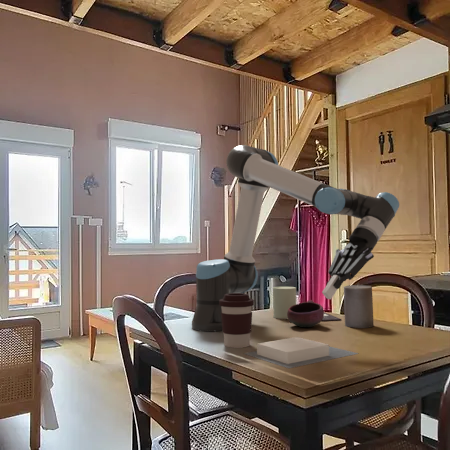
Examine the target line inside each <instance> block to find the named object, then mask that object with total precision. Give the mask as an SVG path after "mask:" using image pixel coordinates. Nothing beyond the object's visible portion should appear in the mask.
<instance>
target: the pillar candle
mask: <svg viewBox="0 0 450 450" xmlns="http://www.w3.org/2000/svg"><path fill="white" fill-rule="evenodd" d="M343 300H344V301H343V302H344V305H343V306H344V308H343V309H344V325H345V327H347V328H356V329H368V328H371V327H372V328H373V327H374V304H373V303H374V302H373V300H374V299H373V288H372V286H371V285H365V284H364V285H363V284H361V285H360V284H359V282H358V283H357V284H354V285H344V286H343Z"/></svg>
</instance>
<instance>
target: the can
mask: <svg viewBox="0 0 450 450" xmlns="http://www.w3.org/2000/svg"><path fill="white" fill-rule="evenodd" d="M272 291H273V292H272V296H273V297H272V298H273V303H272V305H273V315H272V316H273V318H274V319H279V320H289V319H288V317H287V312H288V309H289V308H290V307H291V306H293V305H296V304H297V287H294V286H273V287H272Z"/></svg>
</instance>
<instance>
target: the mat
mask: <svg viewBox="0 0 450 450" xmlns="http://www.w3.org/2000/svg"><path fill="white" fill-rule="evenodd" d="M358 354H359V353H358V352H353V351H350V350H346V349H342V348H338V347H334V346H330V345H329V356H324V357H319V358H314V359H310V360H305V361H300V362H295V363H290V364H286V363H283V362H280V361H277V360H273V359H270V358H267V357H264V356H261V355H258V354H257V350H255V351H250V352H244V353H243V355H246V356H250V357H252V358H256V359H259V360H262V361H264V362H268V363H271V364H274V365H277V366H280V367H283V368H286V369H293V368H297V367H303V366H306V365H307V366H308V365H312V364H317V363H321V362H325V361H331V360H335V359H339V358H344V357H349V356H354V355H358Z"/></svg>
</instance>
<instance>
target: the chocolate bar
mask: <svg viewBox="0 0 450 450" xmlns="http://www.w3.org/2000/svg"><path fill="white" fill-rule="evenodd" d="M339 321H340V322H341V321H342V318H340V317H337V316H334V315H332V314H329V313H327V312H324V317H323V319H322V321H321V322H339Z"/></svg>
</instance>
